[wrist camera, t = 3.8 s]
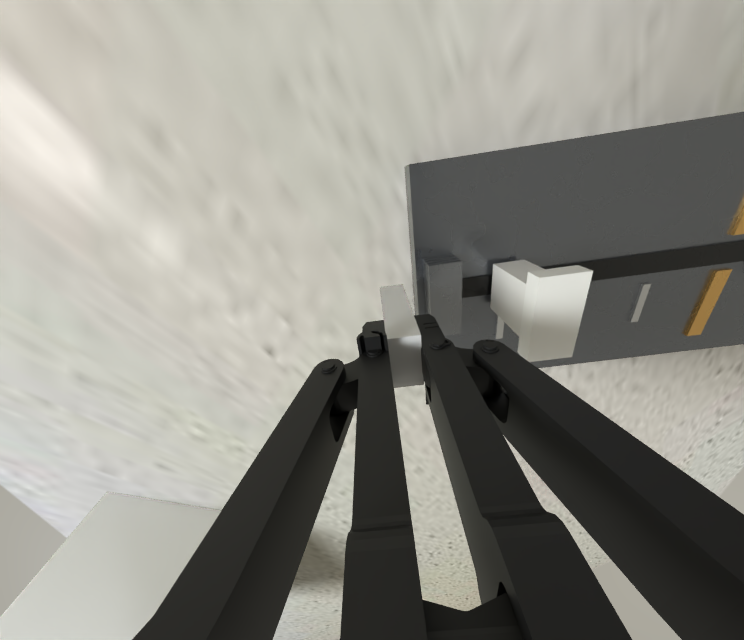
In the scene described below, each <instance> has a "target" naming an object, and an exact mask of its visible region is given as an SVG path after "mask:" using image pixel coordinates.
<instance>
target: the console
mask: <svg viewBox="0 0 744 640" xmlns="http://www.w3.org/2000/svg"><path fill="white" fill-rule="evenodd" d="M405 178H406V193H407V207H408V221H409V235H410V249H411V263H412V277H413V291H414V305H415V315H423V314H430V315H432V316H433V317H435V319H436V321H437V323H438V325H439V327H440V329H441V331H442V333H443V334H444V336H445V338H447V339H449V340H451V341H452V342H453V344H454V346H455V347H459V348H466V349H473V345H474V344H475V342H477V341H480V340H486V339H490V340H495V341H499V342H501V343H503V344H505V345H506V346H507V347H509V348H510V349H512V350H513V351H514V352H516V353H517V354H519V353H518V352H517V351H518V343H519V336H518V335H517V334H516V333H515V332H514V331H513V330H512V329H511V328H510V327H509V326H508V325H507V324H506V323H505V322H504V321H503V320H502V319H501V318H500V317H499V316H498V315H497V314H496V313H495V312H494V311H493V310H492V309H491V308H490V302H491V288H492V274H493V264H496V263H503V262H510V261H518V260H526V261H528V262H530V263H533V264H535V265H537V266H539V267H541V268H543V269H552V268H559V267H567V266H574V265H579V266H582V267H584V268H587V269H590V270H592V271H593V274H592V278H591V282H590V286H589V290H588V294H587V298H586V303H585V307H584V311H583V315H582V319H581V323H580V327H579V331H578V335H577V339H576V343H575V347H574V351H573V355H572V357H568V358H560V359H551V360H543V361H534V362H530V363H531V364H533V365H534V366H535V367H537V368H543V367H552V366H560V365H569V364H577V363H586V362H594V361H603V360H611V359H620V358H628V357H637V356H645V355H654V354H662V353H671V352H679V351H688V350H696V349H705V348H713V347H722V346H730V345H739V344H744V112H740V113H734V114H728V115H721V116H715V117H709V118H702V119H696V120H689V121H683V122H677V123H670V124H664V125H658V126H651V127H645V128H639V129H632V130H626V131H620V132H613V133H607V134H600V135H594V136H588V137H581V138H575V139H569V140H562V141H556V142H550V143H543V144H537V145H531V146H524V147H518V148H511V149H505V150H499V151H492V152H486V153H480V154H473V155H467V156H461V157H454V158H448V159H442V160H435V161H429V162H423V163H416V164H410V165H407V166H406V167H405ZM423 378H424V377H423Z"/></svg>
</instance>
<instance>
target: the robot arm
mask: <svg viewBox="0 0 744 640" xmlns="http://www.w3.org/2000/svg"><path fill="white" fill-rule="evenodd" d="M380 293H381V301H382V309H383V317H384V320H381V321H373V322H366V324H365V325H364V326H363V331H362V333H361V334H359V335H358V337H357V344H358V350H359V358H358V359H356V360H355V361H353V362H350V363H348V364H345V365H344V364H343V362H342V361H340V360H338V359H328V360H325V361H322V362H321V363H319V364H318V365H317V366H316V367H315V368H314V369H313V371H312V372H311V374H310V375H309V377H308V379H307V380H306V382H305V383H304V385H303V386H302V388H301V389H300V391H299V392H298V394H297V395H296V397H295V399H294V400H293V402H292V403H291V405H290V406H289V408H288V409H287V411H286V412H285V414H284V416H283V417H282V419H281V420H280V422H279V423H278V425H277V426H276V428H275V429H274V431H273V432H272V434H271V436H270V437H269V439H268V440H267V442H266V443H265V445H264V446H263V448H262V449H261V451H260V452H259V454H258V456H257V457H256V459H255V460H254V462H253V463H252V465H251V466H250V468H249V469H248V471H247V472H246V474H245V476H244V477H243V479H242V480H241V482H240V483H239V485H238V486H237V488H236V489H235V491H234V492H233V494H232V496H231V497H230V499H229V500H228V502H227V503H226V505H225V506H224V508H223V509H222V511H221V512H220V514H219V516H218V517H217V519H216V520H215V522H214V523H213V525H212V526H211V528H210V529H209V531H208V532H207V534H206V536H205V537H204V539H203V540H202V542H201V543H200V545H199V546H198V548H197V549H196V551H195V552H194V554H193V556H192V557H191V559H190V560H189V562H188V563H187V565H186V566H185V568H184V569H183V571H182V573H181V574H180V576H179V577H178V579H177V580H176V582H175V583H174V585H173V586H172V588H171V589H170V591H169V593H168V594H167V596H166V597H165V599H164V600H163V602H162V603H161V605H160V606H159V608H158V609H157V611H156V613H155V614H154V616H153V617H152V618H151V619H150V620H149V621H148V622H147V623H146V625H145V626H144V627H143V628H142V629H141V630H140V631H139V632H138V633H137V635H136V636H135V637H134V638H133V639H132V640H273V637H274V634H275V631H276V628H277V626H278V623H279V620H280V617H281V615H282V612H283V609H284V606H285V603H286V601H287V598H288V595H289V592H290V590H291V587H292V584H293V581H294V578H295V576H296V573H297V570H298V567H299V564H300V562H301V559H302V556H303V553H304V551H305V548H306V545H307V542H308V539H309V537H310V534H311V531H312V528H313V526H314V523H315V520H316V517H317V514H318V512H319V509H320V506H321V503H322V500H323V498H324V495H325V492H326V489H327V487H328V484H329V481H330V478H331V475H332V473H333V470H334V467H335V464H336V462H337V459H338V456H339V453H340V450H341V448H342V445H343V442H344V439H345V437H346V434H347V431H348V428H349V425H350V423H351V420H352V417H353V414H354V409H356V408H357V423H356V446H355V469H354V493H353V516H352V527H351V530H350V532H349V533H348V536H347V541H346V551H345V568H344V585H343V602H342V619H341V636H340V640H632V639H631V637H630V635H629V634H628V632H627V630H626V628H625V627H624V625H623V623H622V621H621V620H620V618H619V616H618V615H617V613H616V611H615V609H614V608H613V606H612V604H611V603H610V601H609V599H608V597H607V596H606V594H605V592H604V591H603V589H602V587H601V585H600V584H599V582H598V580H597V579H596V577H595V575H594V573H593V572H592V570H591V568H590V566H589V565H588V563H587V561H586V560H585V558H584V556H583V554H582V553H581V551H580V549H579V548H578V546H577V544H576V542H575V541H574V539H573V537H572V536H571V534H570V532H569V531H568V529H567V528H566V526H565V525H564V523H563V522H562V521H561V520H560V519H559V518H558V517H557V516H556V515H555V514H552V513H549V512H547V511H546V510H545V509H544V508H543V507H542V506H541V504H540V502H539V501H538V499H537V497H536V495H535V493H534V491H533V490H532V488H531V486H530V484H529V482H528V480H527V478H526V477H525V475H524V473H523V471H522V469H521V467H520V466H519V464H518V462H517V460H516V458H515V456H514V454H513V453H512V451H511V449H510V447H509V445H508V443H507V442H506V440H505V438H504V436H505V437H506V439H507V440H508V441H509V442H510V443H511V444H512V445H513V447H514V448H515V449H516V450H517V451H518V452H519V454H520V455H521V456H522V457H523V458H524V459H525V460H526V462H527V463H528V464H529V465H530V466H531V467H532V469H533V470H534V471H535V472H536V473H537V474H538V476H539V477H540V478H541V479H542V480H543V481H544V482H545V484H546V485H547V486H548V487H549V488H550V489H551V491H552V492H553V493H554V494H555V495H556V496H557V497H558V499H559V500H560V501H561V502H562V503H563V504H564V506H565V507H566V508H567V509H568V510H569V511H570V512H571V514H572V515H573V516H574V517H575V518H576V519H577V521H578V522H579V523H580V524H581V525H582V526H583V527H584V529H585V530H586V531H587V532H588V533H589V534H590V536H591V537H592V538H593V539H594V540H595V541H596V542H597V544H598V545H599V546H600V547H601V548H602V549H603V551H604V552H605V553H606V554H607V555H608V556H609V557H610V559H611V560H612V561H613V562H614V563H615V564H616V566H617V567H618V568H619V569H620V570H621V571H622V572H623V574H624V575H625V576H626V577H627V578H628V579H629V581H630V582H631V583H632V584H633V585H634V586H635V588H636V589H637V590H638V591H639V592H640V593H641V594H642V596H643V597H644V598H645V599H646V600H647V601H648V602H649V604H650V605H651V606H652V607H653V608H654V609H655V610H656V612H657V613H658V614H659V615H660V616H661V617H662V618H663V619H664V620H665V622H666V623H667V624H668V625H669V626H670V627H671V628H672V629H673V630H674V631H675V633H676V634H677V635H678V636H679V637H680V638H681V639H682V640H744V515H743V514H742V513H741V512H739V511H738V510H736V509H735V508H734V507H732V506H731V505H729V504H728V503H727V502H725V501H724V500H722V499H721V498H720V497H718V496H717V495H715V494H714V493H713V492H711V491H710V490H708V489H707V488H706V487H704V486H703V485H701V484H700V483H699V482H697V481H696V480H694V479H693V478H691V477H690V476H689V475H687V474H686V473H684V472H683V471H682V470H680V469H679V468H677V467H676V466H675V465H673V464H672V463H670V462H669V461H668V460H666V459H665V458H663V457H662V456H661V455H659V454H658V453H656V452H655V451H654V450H652V449H651V448H649V447H648V446H647V445H645V444H644V443H642V442H641V441H639V440H638V439H637V438H635V437H634V436H632V435H631V434H630V433H628V432H627V431H625V430H624V429H623V428H621V427H620V426H618V425H617V424H616V423H614V422H613V421H611V420H610V419H609V418H607V417H606V416H604V415H603V414H602V413H600V412H599V411H597V410H596V409H594V408H593V407H592V406H590V405H589V404H587V403H586V402H585V401H583V400H582V399H580V398H579V397H578V396H576V395H575V394H573V393H572V392H571V391H569V390H568V389H566V388H565V387H564V386H562V385H561V384H559V383H558V382H557V381H555V380H554V379H552V378H551V377H550V376H548V375H547V374H545V373H544V372H542V371H541V370H540V369H538V368H537V367H535V366H534V365H533V364H531V363H530V362H528V361H527V360H526V359H524V358H523V357H521V356H520V355H519V354H517V353H516V352H514V351H513V350H512V349H510V348H509V347H507V346H506V345H505V344H503V343H501V342H499V341H495V340H490V339H486V340H480V341H477V342H475V344H474V345H473V349H466V348H459V347H455V346H454V344H453V342H452V341H451V340H449V339H447V338H445V336H444V334H443V333H442V331H441V329H440V327H439V325H438V323H437V321H436V319H435V317H433V316H432V315H430V314H423V315H415V316H414V314H413V311H412V309H411V306H410V303H409V300H408V298H407V295H406V292H405V289H404V287H403V284H401V285H394V286H386V287H380ZM423 377H424V378H423ZM424 381H425V389H426V404H429V406H430V409H431V413H432V416H433V420H434V424H435V427H436V431H437V434H438V438H439V442H440V445H441V449H442V452H443V456H444V459H445V463H446V467H447V470H448V474H449V477H450V481H451V485H452V488H453V492H454V495H455V499H456V502H457V506H458V510H459V513H460V517H461V520H462V524H463V528H464V531H465V535H466V538H467V542H468V545H469V549H470V553H471V556H472V560H473V563H474V567H475V571H476V576H477V582H478V589H479V595H480V599H481V604H482V605H480V606H478V607H476V608H474V609H472V610H470V611H461V610H457V609H453V608H450V607H446V606H443V605H439V604H436V603H432V602H429V601H425V600H422V594H421V586H420V579H419V571H418V564H417V557H416V549H415V542H414V535H413V527H412V521H411V513H410V506H409V498H408V491H407V484H406V476H405V469H404V461H403V454H402V446H401V439H400V431H399V424H398V417H397V409H396V402H395V394H394V388H397V387H406V386H415V385H423V384H424ZM503 435H504V436H503Z"/></svg>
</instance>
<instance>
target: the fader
mask: <svg viewBox="0 0 744 640" xmlns="http://www.w3.org/2000/svg"><path fill="white" fill-rule="evenodd" d="M592 274H593V271H592V270H590V269H587V268H584V267H582V266H579V265H574V266H567V267H559V268H552V269H543V268H541V267H539V266H537V265H535V264H533V263H530V262H528V261H526V260H518V261H510V262H503V263H496V264H493V274H492V288H491V302H490V308H491V309H492V310H493V311H494V312H495V313H496V314H497V315H498V316H499V317H500V318H501V319H502V320H503V321H504V322H505V323H506V324H507V325H508V326H509V327H510V328H511V329H512V330H513V331H514V332H515V333H516V334H517V335H518V336H519V343H518V351H517V352H518V353H519V355H520V356H521V357H523V358H524V359H526V360H527V361H528V362H534V361H543V360H551V359H560V358H568V357H572V355H573V351H574V347H575V343H576V339H577V335H578V331H579V327H580V323H581V319H582V315H583V311H584V307H585V303H586V298H587V294H588V290H589V286H590V282H591V278H592Z"/></svg>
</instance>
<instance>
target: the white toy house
mask: <svg viewBox="0 0 744 640" xmlns="http://www.w3.org/2000/svg"><path fill="white" fill-rule="evenodd" d="M220 512H221V510H215V509H209V508H203V507H197V506H191V505H185V504H179V503H173V502H167V501H161V500H155V499H149V498H143V497H137V496H131V495H125V494H119V493H113V492H106V494H105V495H104V496H103V497H102V498H101V499H100V501H99V502H98V503H97V504H96V505H95V506H94V508H93V509H92V510H91V511H90V512H89V514H88V515H87V516H86V517H85V518H84V519H83V521H82V522H81V523H80V524H79V525H78V526H77V528H76V529H75V530H74V531H73V532H72V533H71V535H70V536H69V537H68V538H67V539H66V540H65V542H64V543H63V544H62V545H61V546H60V547H59V549H58V550H57V551H56V552H55V553H54V554H53V556H52V557H51V558H50V559H49V560H48V562H47V563H46V564H45V565H44V566H43V567H42V569H41V570H40V571H39V572H38V573H37V574H36V576H35V577H34V578H33V579H32V580H31V581H30V583H29V584H28V585H27V586H26V587H25V589H24V590H23V591H22V592H21V593H20V594H19V596H18V597H17V598H16V599H15V600H14V602H13V603H12V604H11V605H10V606H9V607H8V608H7V610H6V611H5V612H4V613H3V614H2V615H1V617H0V640H132V639H133V638H134V637H135V636H136V635H137V633H138V632H139V631H140V630H141V629H142V628H143V627H144V626H145V625H146V623H147V622H148V621H149V620H150V619H151V618H152V617H153V616H154V614H155V613H156V611H157V609H158V608H159V606H160V605H161V603H162V602H163V600H164V599H165V597H166V596H167V594H168V593H169V591H170V589H171V588H172V586H173V585H174V583H175V582H176V580H177V579H178V577H179V576H180V574H181V573H182V571H183V569H184V568H185V566H186V565H187V563H188V562H189V560H190V559H191V557H192V556H193V554H194V552H195V551H196V549H197V548H198V546H199V545H200V543H201V542H202V540H203V539H204V537H205V536H206V534H207V532H208V531H209V529H210V528H211V526H212V525H213V523H214V522H215V520H216V519H217V517H218V516H219V514H220Z"/></svg>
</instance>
